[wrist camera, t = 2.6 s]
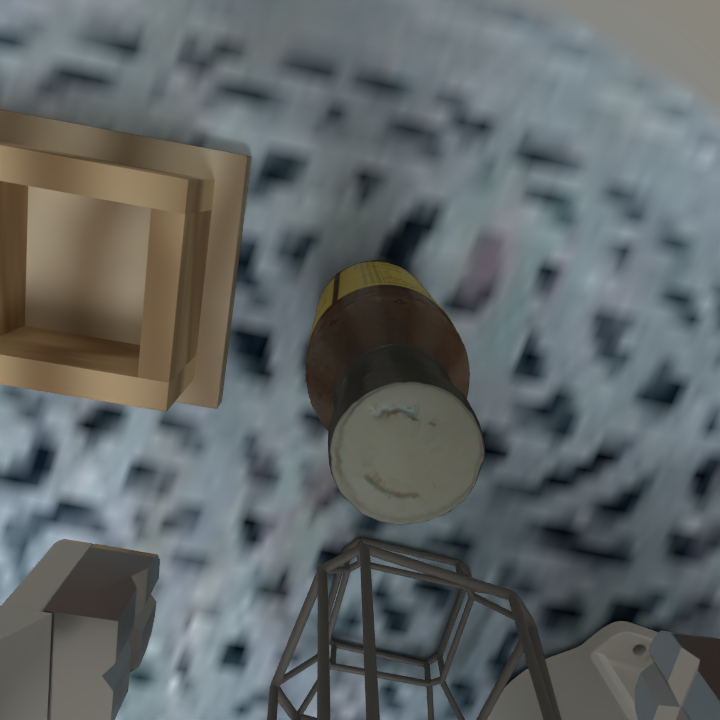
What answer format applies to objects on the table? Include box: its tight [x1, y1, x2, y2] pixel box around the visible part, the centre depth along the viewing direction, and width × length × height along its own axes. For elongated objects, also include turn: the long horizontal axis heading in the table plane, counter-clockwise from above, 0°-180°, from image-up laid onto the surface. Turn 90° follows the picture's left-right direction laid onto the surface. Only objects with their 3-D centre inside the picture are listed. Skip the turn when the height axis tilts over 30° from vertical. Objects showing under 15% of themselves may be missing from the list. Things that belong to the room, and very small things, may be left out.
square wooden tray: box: [0, 110, 251, 412], centre depth 31 cm, size 14×14×6 cm
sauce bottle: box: [306, 260, 485, 525], centre depth 25 cm, size 6×6×20 cm
